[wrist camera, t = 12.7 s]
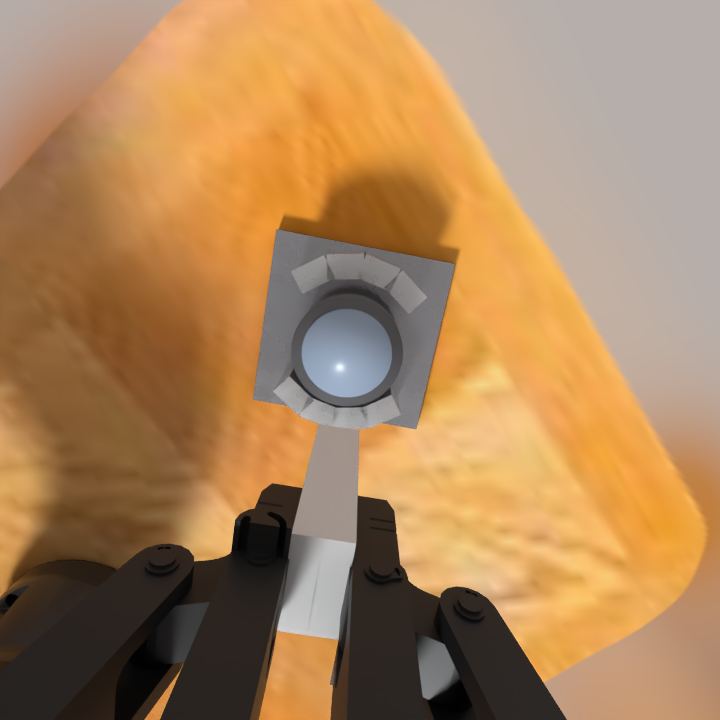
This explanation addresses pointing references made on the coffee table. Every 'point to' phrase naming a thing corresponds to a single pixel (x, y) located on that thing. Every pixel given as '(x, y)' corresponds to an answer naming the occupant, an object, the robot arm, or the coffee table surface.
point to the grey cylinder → (347, 348)
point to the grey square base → (350, 270)
